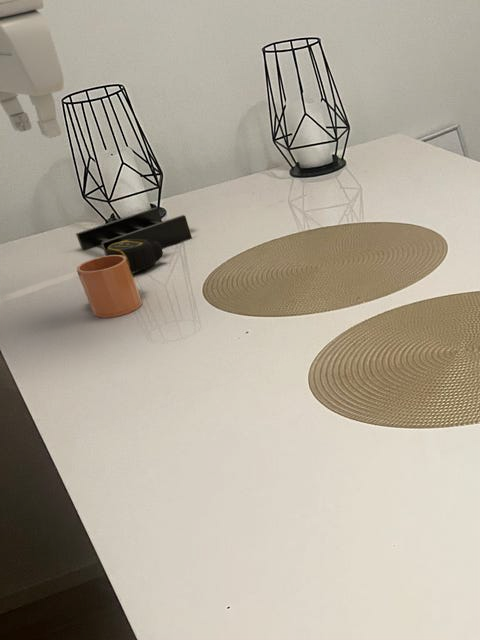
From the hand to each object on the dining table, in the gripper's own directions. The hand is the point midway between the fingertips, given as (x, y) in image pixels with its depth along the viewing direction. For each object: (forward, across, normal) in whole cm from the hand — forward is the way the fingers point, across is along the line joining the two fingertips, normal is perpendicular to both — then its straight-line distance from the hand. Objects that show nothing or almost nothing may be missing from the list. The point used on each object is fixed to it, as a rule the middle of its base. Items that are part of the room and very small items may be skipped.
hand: (38, 133), depth 114 cm
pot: (+22, 0, +1) cm, 22 cm away
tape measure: (+22, -14, +11) cm, 28 cm away
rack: (+22, -24, +16) cm, 36 cm away
